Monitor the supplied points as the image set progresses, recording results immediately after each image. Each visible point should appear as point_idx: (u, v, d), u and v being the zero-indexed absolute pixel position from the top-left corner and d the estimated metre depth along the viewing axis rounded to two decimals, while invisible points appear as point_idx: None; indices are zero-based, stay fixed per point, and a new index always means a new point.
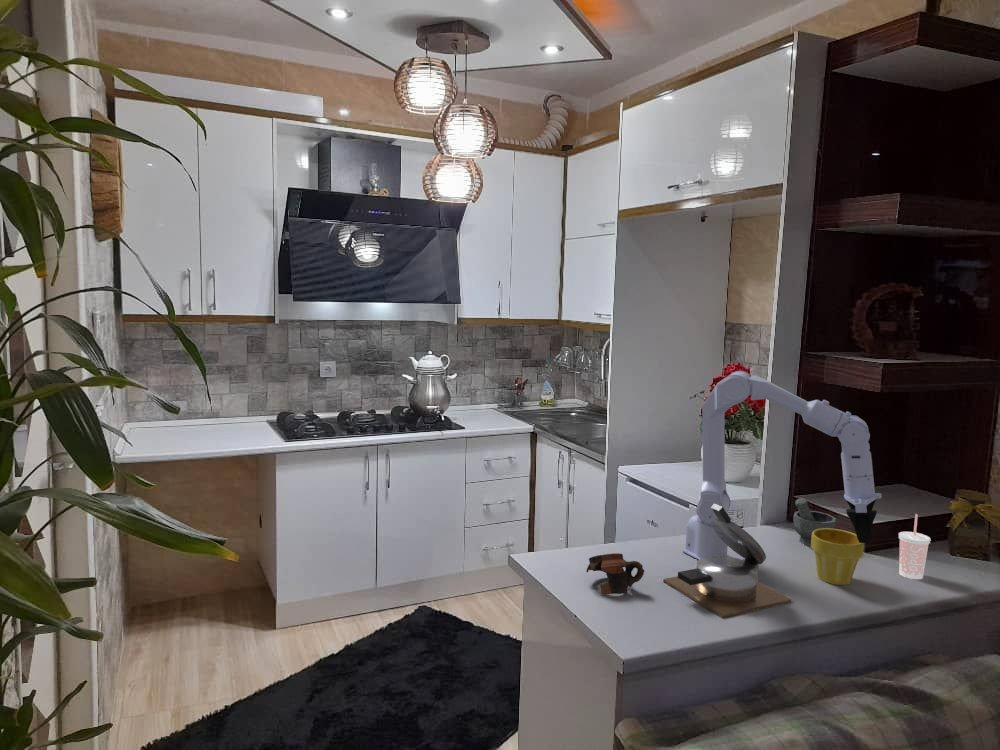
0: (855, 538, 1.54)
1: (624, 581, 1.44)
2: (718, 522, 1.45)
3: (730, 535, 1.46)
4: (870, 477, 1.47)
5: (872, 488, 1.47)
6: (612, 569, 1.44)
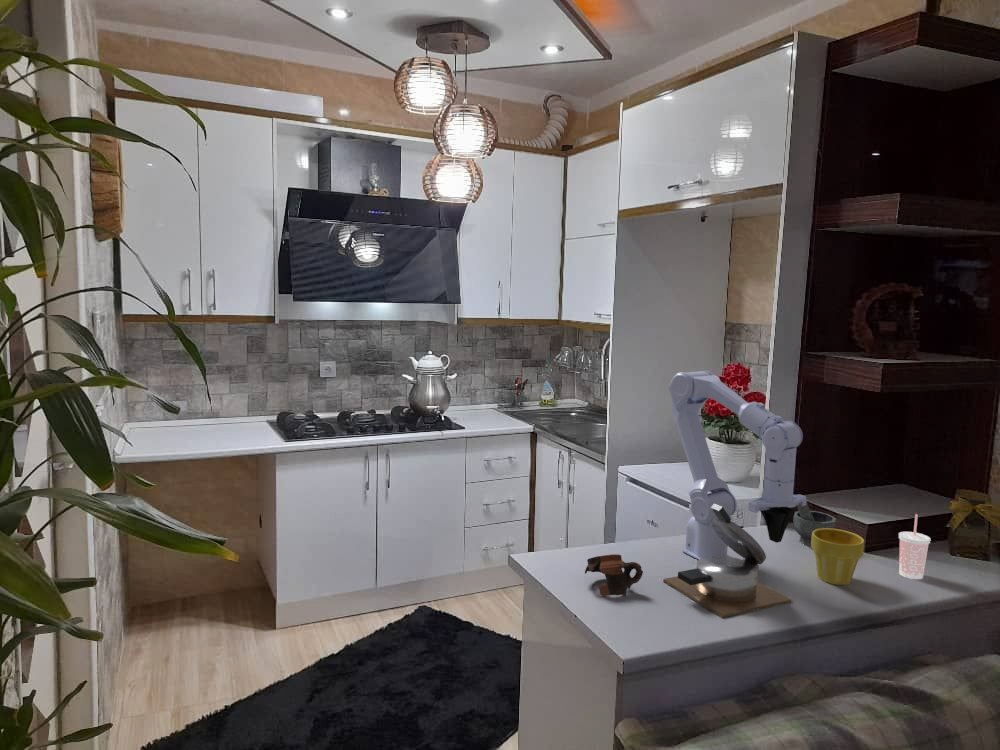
0: (855, 538, 1.54)
1: (623, 582, 1.43)
2: (718, 522, 1.45)
3: (730, 535, 1.46)
4: (782, 484, 1.46)
5: (782, 495, 1.46)
6: (611, 570, 1.43)
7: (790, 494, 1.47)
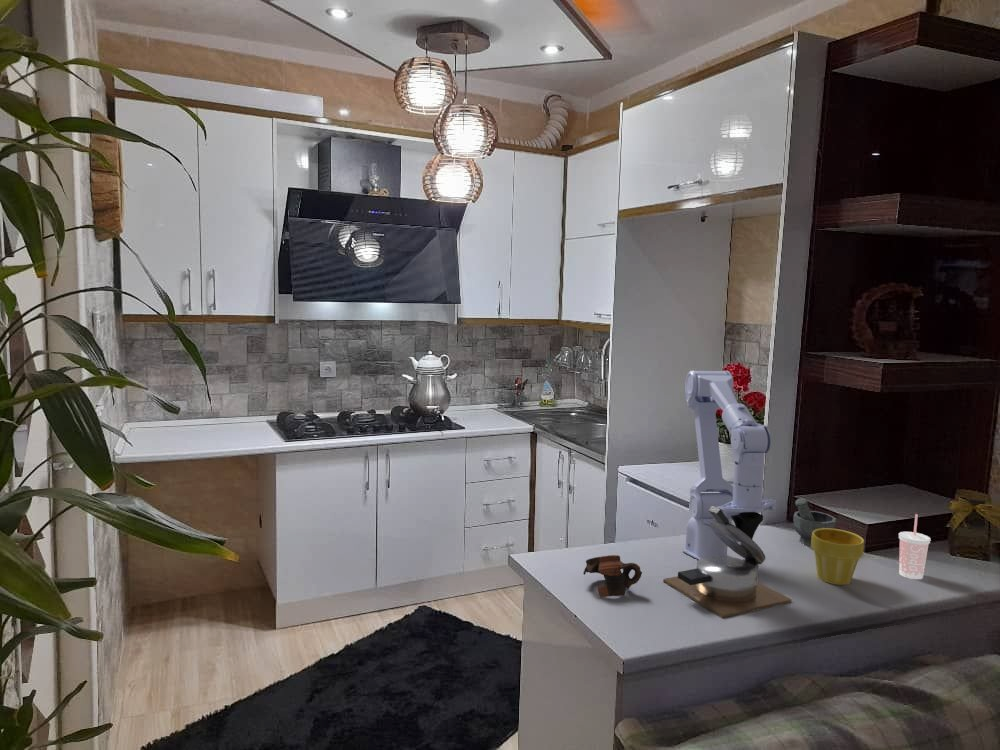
0: (855, 538, 1.54)
1: (622, 583, 1.43)
2: (717, 523, 1.45)
3: (729, 536, 1.46)
4: (750, 488, 1.42)
5: (751, 500, 1.43)
6: (610, 571, 1.43)
7: (759, 499, 1.43)
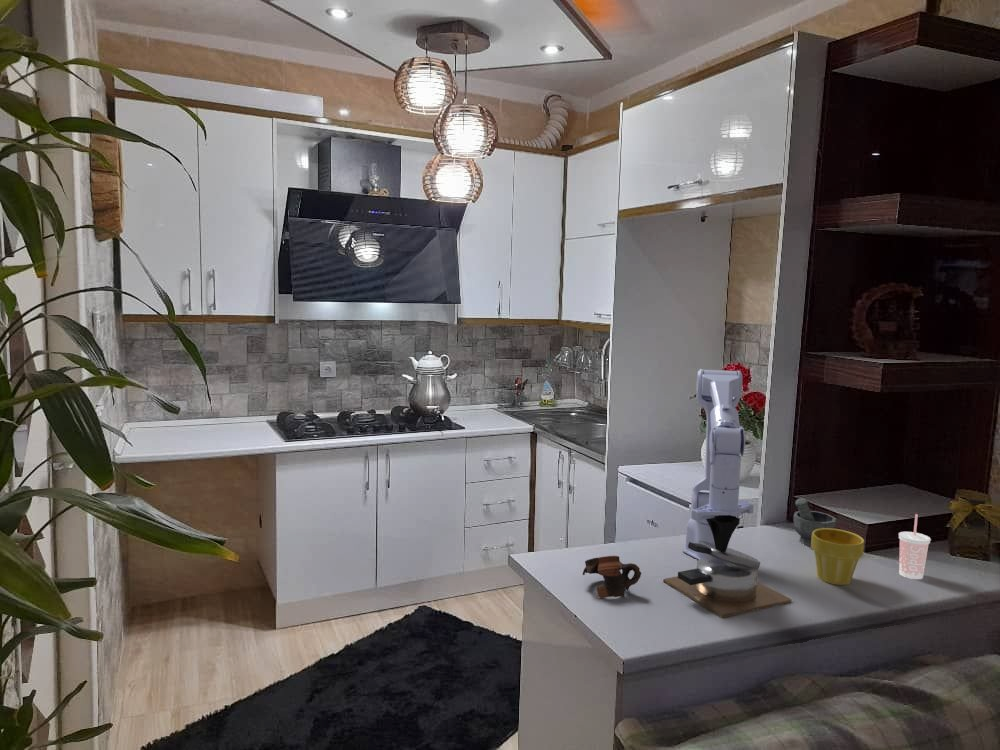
0: (855, 538, 1.54)
1: (621, 584, 1.43)
2: None
3: None
4: (726, 491, 1.40)
5: (727, 503, 1.40)
6: (609, 572, 1.43)
7: (735, 502, 1.40)
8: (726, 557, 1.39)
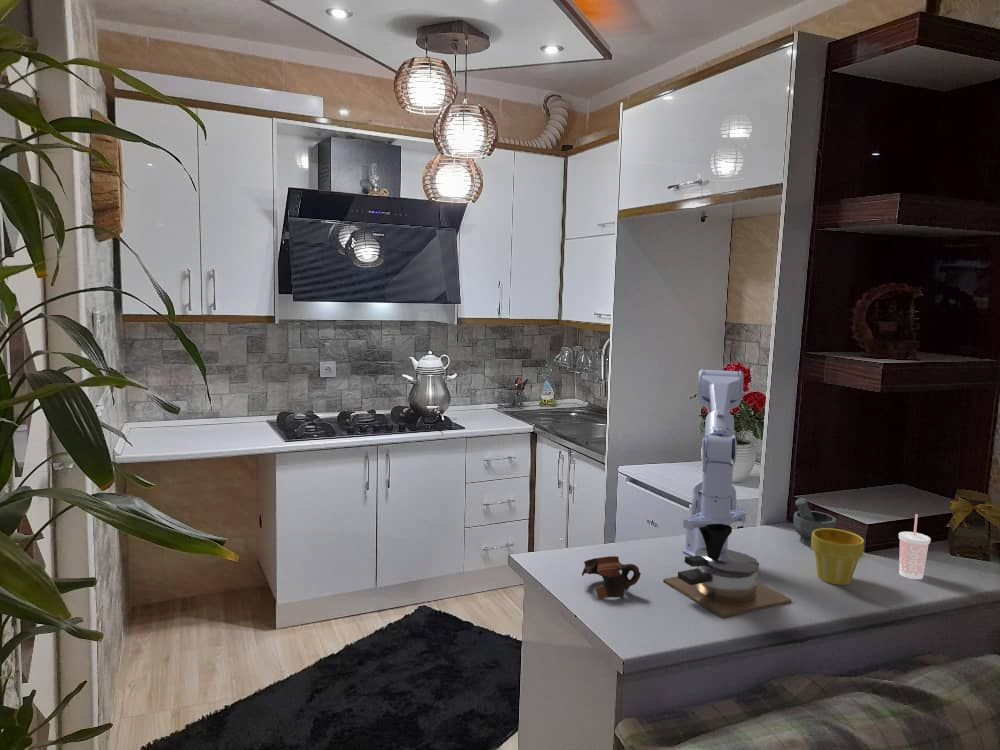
0: (855, 538, 1.54)
1: (620, 584, 1.42)
2: None
3: None
4: (718, 500, 1.39)
5: (719, 511, 1.39)
6: (608, 572, 1.42)
7: (727, 510, 1.40)
8: (723, 567, 1.39)
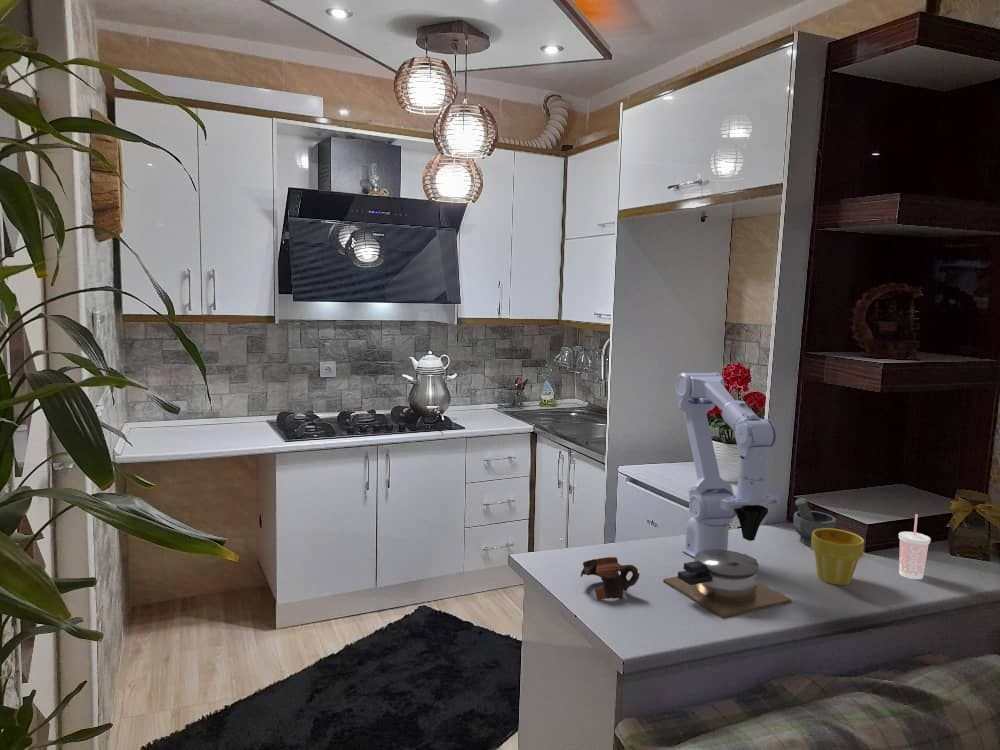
0: (855, 538, 1.54)
1: (619, 585, 1.42)
2: None
3: None
4: (754, 482, 1.45)
5: (755, 493, 1.45)
6: (607, 573, 1.42)
7: (763, 492, 1.45)
8: (722, 572, 1.39)
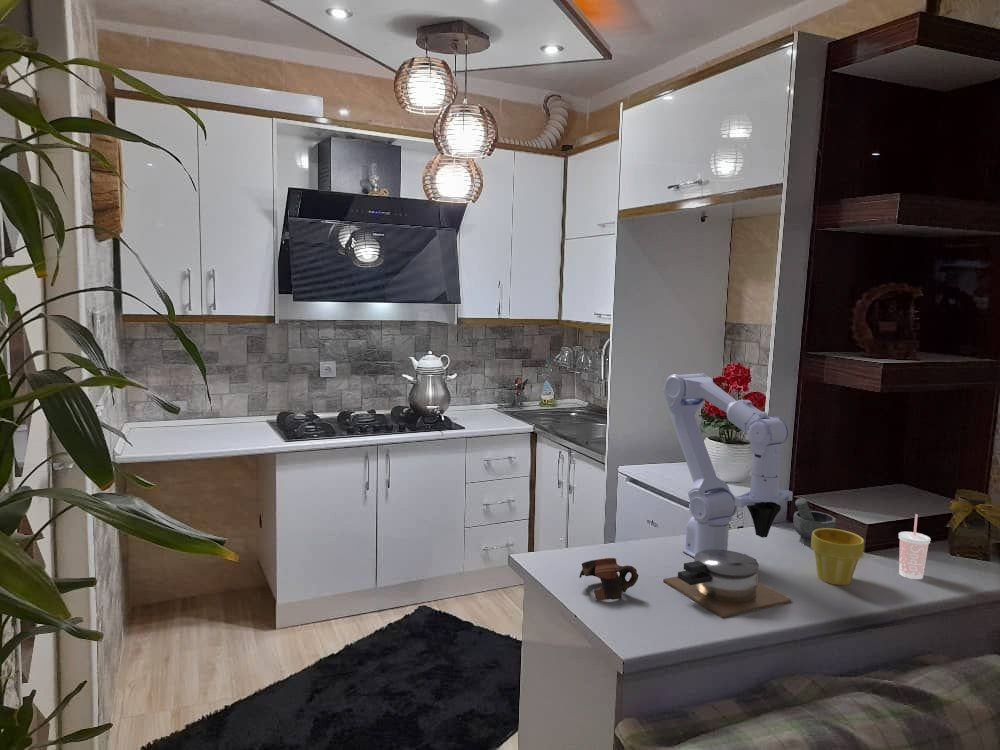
0: (855, 538, 1.54)
1: (618, 586, 1.42)
2: None
3: None
4: (767, 479, 1.47)
5: (768, 490, 1.47)
6: (606, 574, 1.41)
7: (776, 489, 1.47)
8: (722, 572, 1.39)
